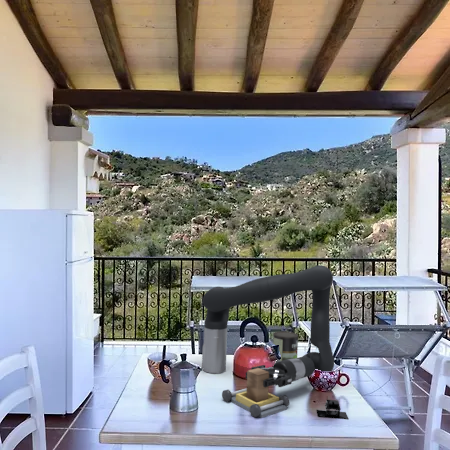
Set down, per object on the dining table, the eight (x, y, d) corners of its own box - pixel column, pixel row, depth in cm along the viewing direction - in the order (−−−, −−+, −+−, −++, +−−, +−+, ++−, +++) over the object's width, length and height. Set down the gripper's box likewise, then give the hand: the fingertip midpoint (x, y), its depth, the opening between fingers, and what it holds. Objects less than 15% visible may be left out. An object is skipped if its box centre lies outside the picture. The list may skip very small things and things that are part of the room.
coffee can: (300, 366, 184) (301, 333, 184) (293, 373, 174) (294, 338, 174) (276, 362, 188) (277, 329, 188) (268, 369, 179) (269, 335, 179)
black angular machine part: (313, 419, 135) (313, 404, 135) (311, 409, 142) (311, 395, 142) (354, 422, 134) (355, 408, 134) (350, 412, 141) (350, 398, 141)
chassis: (221, 399, 147) (221, 388, 147) (252, 390, 155) (252, 380, 155) (257, 419, 132) (258, 407, 132) (289, 408, 141) (290, 397, 141)
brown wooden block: (246, 401, 143) (247, 370, 143) (257, 397, 147) (258, 367, 147) (256, 406, 140) (257, 375, 140) (267, 402, 143) (268, 372, 143)
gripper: (275, 354, 158) (241, 362, 148) (305, 365, 147) (270, 374, 137) (274, 375, 158) (240, 384, 148) (304, 387, 147) (269, 398, 137)
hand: (254, 379), depth 142 cm, fingers open, 8 cm apart
